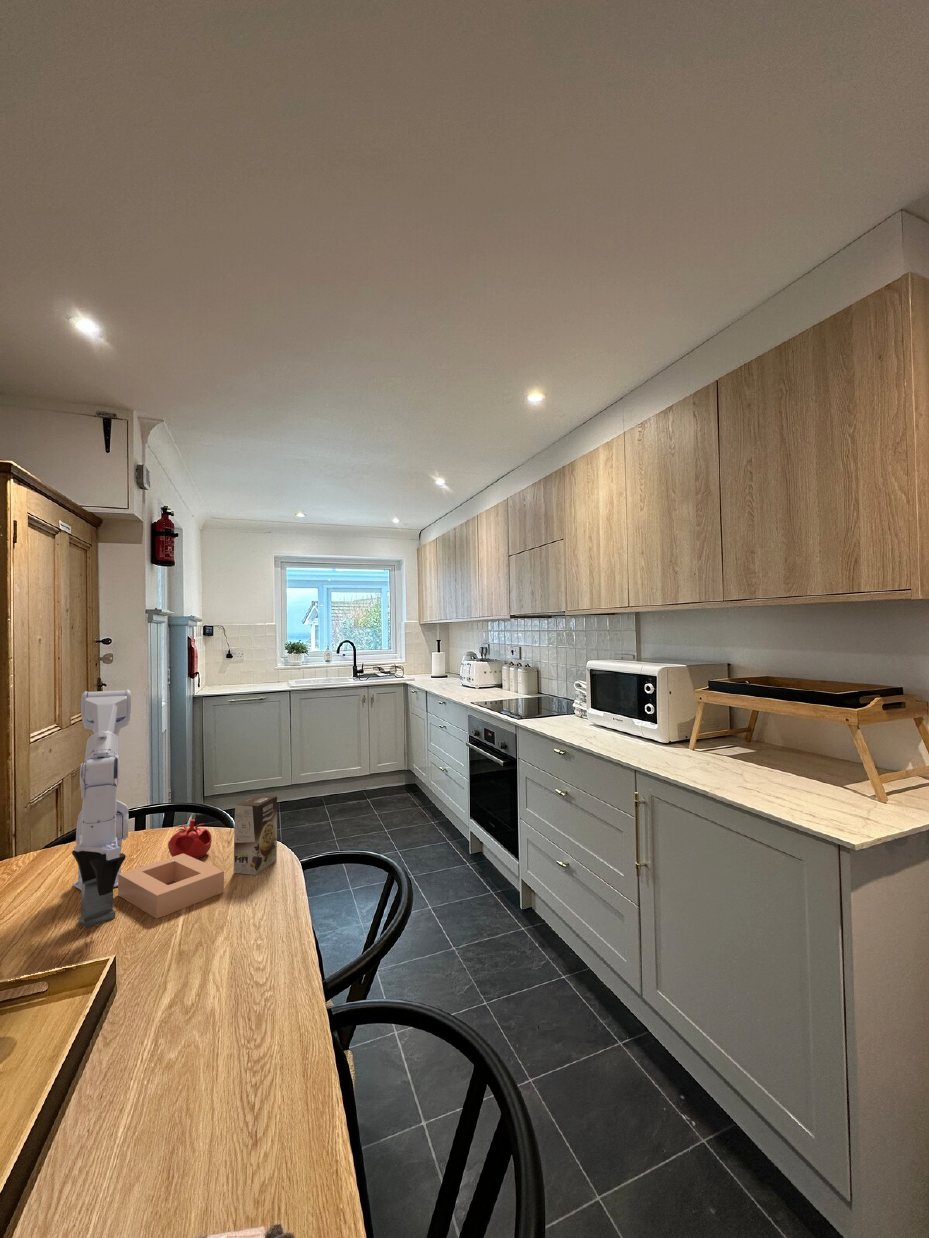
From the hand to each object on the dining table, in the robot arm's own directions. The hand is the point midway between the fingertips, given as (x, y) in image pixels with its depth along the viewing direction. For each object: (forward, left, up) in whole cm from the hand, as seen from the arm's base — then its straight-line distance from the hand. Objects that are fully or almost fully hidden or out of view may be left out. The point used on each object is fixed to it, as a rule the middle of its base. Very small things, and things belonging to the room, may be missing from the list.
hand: (97, 888), depth 106 cm
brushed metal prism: (0, 0, -6) cm, 6 cm away
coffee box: (+3, +33, -6) cm, 34 cm away
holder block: (0, +14, -6) cm, 15 cm away
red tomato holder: (-17, +27, -6) cm, 33 cm away
